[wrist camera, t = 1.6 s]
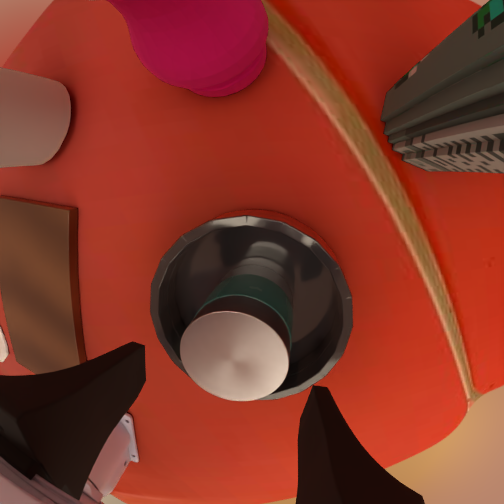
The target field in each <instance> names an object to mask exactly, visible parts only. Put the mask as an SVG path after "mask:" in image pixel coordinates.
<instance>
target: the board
mask: <svg viewBox="0 0 504 504" xmlns="http://www.w3.org/2000/svg"><path fill="white" fill-rule="evenodd" d="M77 225H78V208H73V207H68V206H62V205H56V204H50V203H44V202H39V201H33V200H27V199H21V198H15V197H9V196H3V195H1V196H0V289H1V296H2V301H3V307H4V312H5V317H6V322H7V326H8V331H9V335H10V339H11V343H12V347H13V350H14V354H15V358H16V361H17V362H18V363H19V364H21V365H22V366H24V367H25V368H27V369H29V370H30V371H32V372H33V373H35V374H42V373H48V372H54V371H58V370H62V369H66V368H69V367H73V366H76V365H79V364H81V363H84V362H87V361H86V354H85V348H84V340H83V332H82V323H81V313H80V302H79V287H78V263H77Z"/></svg>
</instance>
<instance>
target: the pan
mask: <svg viewBox="0 0 504 504" xmlns="http://www.w3.org/2000/svg"><path fill="white" fill-rule="evenodd" d="M246 265H258V266H263V267H266V268H269V269H271V270H273V271H275V272H276V273H278V274H279V275H280V276H281V277H282V278H283V279H284V280H285V281H286V283H287V284H288V286H289V288H290V290H291V293H292V297H293V327H292V344H291V351H290V359H289V368H288V373H287V375H286V378H285V379H284V381H283V383H282V384H281V385H280V386H279V387H278V388H277V389H276V390H275V391H273V392H272V393H271V394H269V395H267V396H265V397H262V398H259V399H256V400H274V399H279V398H283V397H286V396H290V395H293V394H296V393H299V392H302V391H304V390H305V389H307V388H308V387H310V386H311V385H313V384H315V383H316V382H318V381H319V380H321V379H322V378H324V377H325V376H326V375H327V374H328V373H329V371H330V370H331V369H332V368H333V367H334V365H335V364H336V363H337V362H338V360H339V359H340V358H341V357H342V355H343V353H344V351H345V348H346V345H347V343H348V340H349V337H350V334H351V331H352V328H353V305H352V295H351V292H350V290H349V287H348V285H347V282H346V280H345V277H344V275H343V272H342V270H341V268H340V265H339V263H338V261H337V259H336V256H335V254H334V253H333V251H332V250H331V249H330V248H329V247H328V245H327V244H326V243H325V241H324V240H323V239H322V238H321V237H320V236H319V235H318V234H317V233H316V232H315V231H313V230H312V229H311V228H309V227H308V226H307V225H305V224H303V223H301V222H300V221H298V220H296V219H294V218H292V217H289V216H287V215H285V214H281V213H277V212H273V211H268V210H260V209H247V210H239V211H233V212H229V213H224V214H221V215H220V216H218V217H216V218H214V219H212V220H210V221H208V222H206V223H204V224H202V225H200V226H198V227H196V228H194V229H192V230H191V231H189V232H187V233H185V234H183V235H182V236H181V237H180V238H179V239H178V240H177V241H176V242H175V243H174V245H173V246H172V247H171V248H170V249H169V250H168V251H167V252H166V253H165V254H164V256H163V257H162V258H161V261H160V263H159V266H158V268H157V271H156V273H155V276H154V278H153V281H152V283H151V284H152V285H151V301H150V312H151V317H152V320H153V324H154V327H155V331H156V334H157V337H158V339H159V341H160V343H161V344H162V346H163V347H164V349H165V350H166V352H167V354H168V355H169V357H170V358H171V360H172V361H173V362H174V363H175V364H176V365H177V366H178V367H179V368H180V369H181V370H182V371H183V372H185V373H186V374H187V375H188V373H187V371H186V370H185V368H184V366H183V363H182V360H181V355H180V343H181V339H182V336H183V334H184V332H185V330H186V329H187V327H188V326H189V324H190V323H191V322H192V320H193V319H194V317H195V315H196V313H197V312H198V310H199V309H200V308H201V306H202V305H203V304H204V302H205V301H206V299H207V298H208V297H209V295H210V294H211V293H212V291H213V290H214V288H215V287H216V286H217V285H218V284H219V283H220V282H221V280H222V279H223V278H224V276H225V275H226V274H228V273H229V272H230V271H232V270H234V269H236V268H238V267H241V266H246ZM188 376H189V375H188ZM189 377H190V376H189ZM190 378H191V377H190ZM191 379H192V378H191Z"/></svg>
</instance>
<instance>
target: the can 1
mask: <svg viewBox="0 0 504 504" xmlns="http://www.w3.org/2000/svg"><path fill="white" fill-rule="evenodd" d="M70 117H71V104H70V96H69V94H68V92H67V89H66V87H65V86H64V85H62V84H61V83H60V82H58V81H55V80H51V79H47V78H44V77H40V76H36V75H32V74H28V73H24V72H19V71H15V70H10V69H6V68H1V67H0V168H2V167H15V166H31V165H41V164H44V163H45V162H47V161H48V160H50V159H51V158H52V157H53V156H54V155H55V153H56V152H57V151H58V150H59V148H60V146H61V144H62V142H63V140H64V138H65V136H66V134H67V131H68V128H69V124H70Z"/></svg>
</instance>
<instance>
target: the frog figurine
mask: <svg viewBox="0 0 504 504" xmlns="http://www.w3.org/2000/svg"><path fill="white" fill-rule="evenodd" d="M4 337H5V336H4V334H3V330H2V329H1V326H0V361H1V362H3V361H4V360H5V358H7V356H8V354H9V351H8V345H7V342H6V340H5V338H4Z"/></svg>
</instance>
